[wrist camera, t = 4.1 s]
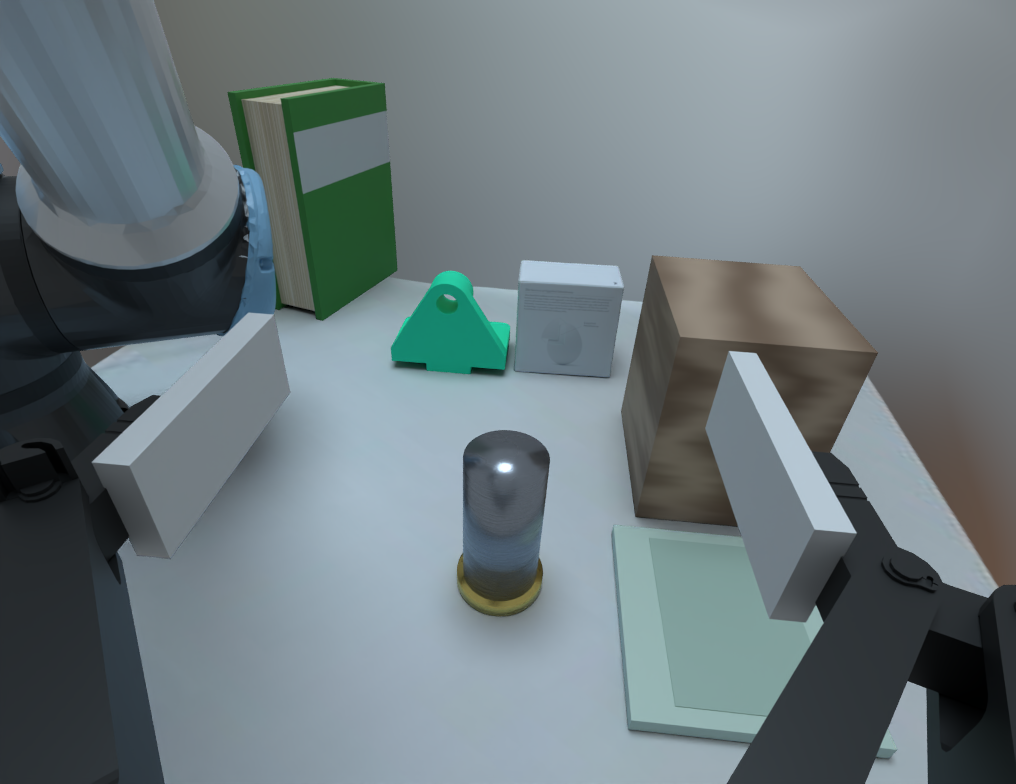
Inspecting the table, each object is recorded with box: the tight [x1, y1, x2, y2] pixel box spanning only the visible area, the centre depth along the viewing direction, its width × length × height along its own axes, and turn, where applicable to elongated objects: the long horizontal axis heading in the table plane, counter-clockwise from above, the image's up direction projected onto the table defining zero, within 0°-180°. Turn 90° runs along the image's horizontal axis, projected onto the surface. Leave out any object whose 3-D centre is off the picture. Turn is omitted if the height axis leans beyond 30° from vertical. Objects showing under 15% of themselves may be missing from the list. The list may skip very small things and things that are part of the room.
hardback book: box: [228, 78, 397, 321], centre depth 69 cm, size 18×7×24 cm, turn 159°
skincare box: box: [514, 260, 624, 377], centre depth 60 cm, size 10×6×10 cm, turn 86°
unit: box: [621, 256, 878, 526], centre depth 45 cm, size 12×14×16 cm
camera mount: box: [391, 271, 510, 374], centre depth 61 cm, size 12×8×10 cm, turn 85°
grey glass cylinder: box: [457, 430, 550, 616], centre depth 36 cm, size 6×6×11 cm
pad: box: [612, 525, 897, 758], centre depth 36 cm, size 14×14×1 cm
